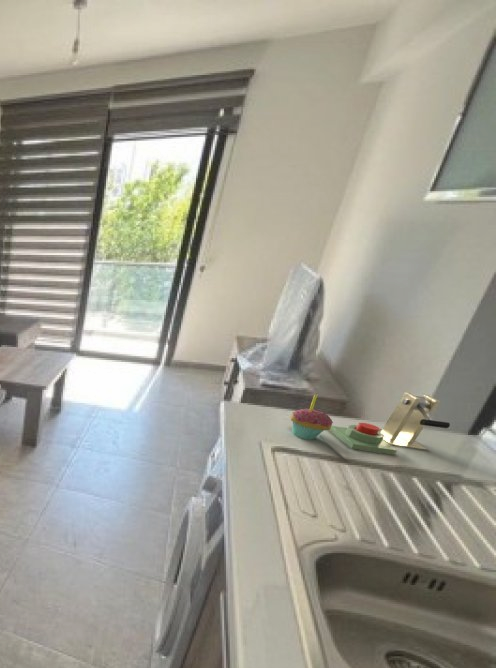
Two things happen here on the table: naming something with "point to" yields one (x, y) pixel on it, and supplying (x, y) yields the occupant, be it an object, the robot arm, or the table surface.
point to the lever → (429, 415)
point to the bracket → (407, 422)
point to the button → (367, 429)
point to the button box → (362, 440)
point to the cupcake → (310, 422)
